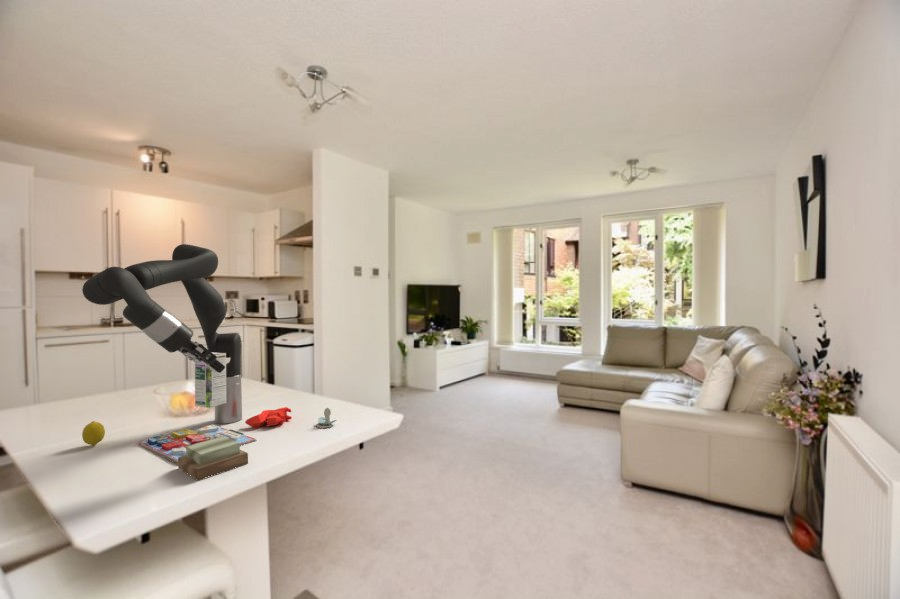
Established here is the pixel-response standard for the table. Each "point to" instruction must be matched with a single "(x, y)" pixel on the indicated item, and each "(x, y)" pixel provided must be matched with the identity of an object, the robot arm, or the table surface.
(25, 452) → the table surface
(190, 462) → the plinth
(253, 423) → the animal figurine
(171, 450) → the puzzle board
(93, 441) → the lemon
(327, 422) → the pacifier
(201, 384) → the syrup box
